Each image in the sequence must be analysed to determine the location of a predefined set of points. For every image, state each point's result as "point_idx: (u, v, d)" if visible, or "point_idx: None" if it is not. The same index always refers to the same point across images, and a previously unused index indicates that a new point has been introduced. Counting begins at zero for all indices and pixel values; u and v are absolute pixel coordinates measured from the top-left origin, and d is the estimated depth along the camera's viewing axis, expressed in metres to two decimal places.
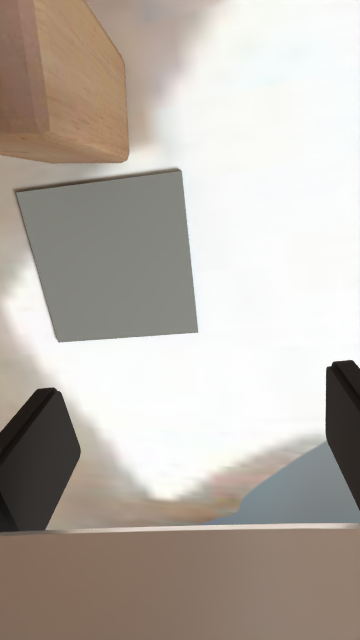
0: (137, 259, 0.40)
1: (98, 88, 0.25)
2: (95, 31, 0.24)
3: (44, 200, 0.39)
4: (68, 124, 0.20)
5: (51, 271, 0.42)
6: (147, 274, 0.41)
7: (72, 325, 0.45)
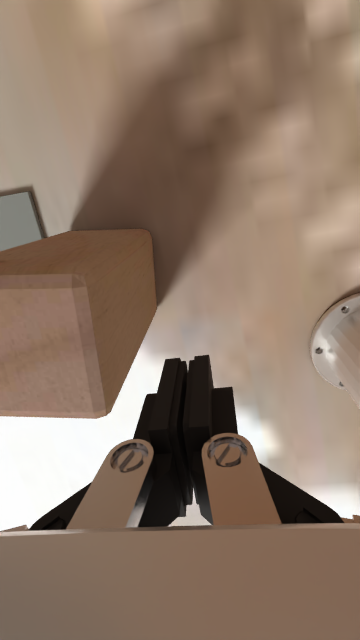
0: None
1: None
2: None
3: (26, 225, 0.35)
4: None
5: None
6: None
7: None
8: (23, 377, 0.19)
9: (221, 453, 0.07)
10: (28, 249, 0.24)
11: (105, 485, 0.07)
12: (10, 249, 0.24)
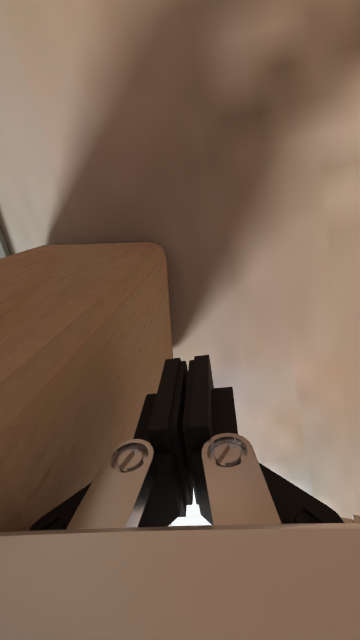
0: None
1: None
2: None
3: None
4: None
5: None
6: None
7: None
8: None
9: (221, 453, 0.07)
10: None
11: (105, 485, 0.07)
12: None
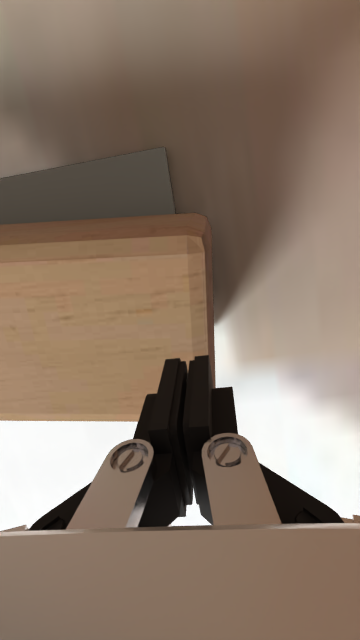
0: None
1: None
2: None
3: (154, 203, 0.22)
4: None
5: (32, 201, 0.23)
6: None
7: None
8: None
9: (221, 453, 0.07)
10: (7, 226, 0.20)
11: (105, 485, 0.07)
12: (24, 223, 0.22)
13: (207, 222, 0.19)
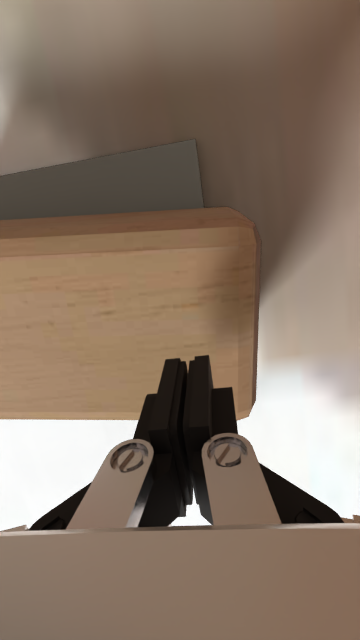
0: None
1: None
2: None
3: (183, 197, 0.21)
4: None
5: (57, 195, 0.22)
6: None
7: None
8: None
9: (221, 453, 0.07)
10: (34, 219, 0.20)
11: (105, 485, 0.07)
12: (49, 217, 0.21)
13: None
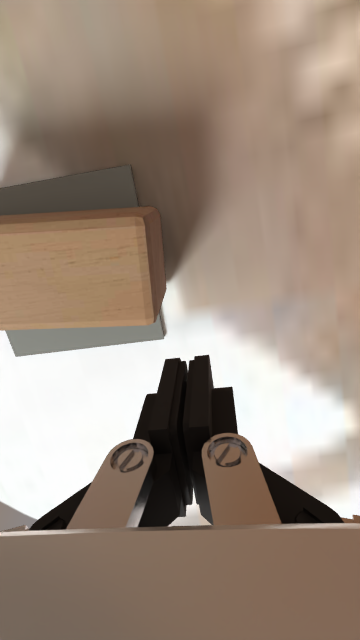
0: None
1: None
2: None
3: (124, 200, 0.34)
4: None
5: (44, 199, 0.35)
6: None
7: None
8: None
9: (221, 453, 0.07)
10: (30, 214, 0.32)
11: (105, 485, 0.07)
12: (40, 213, 0.34)
13: (155, 211, 0.32)
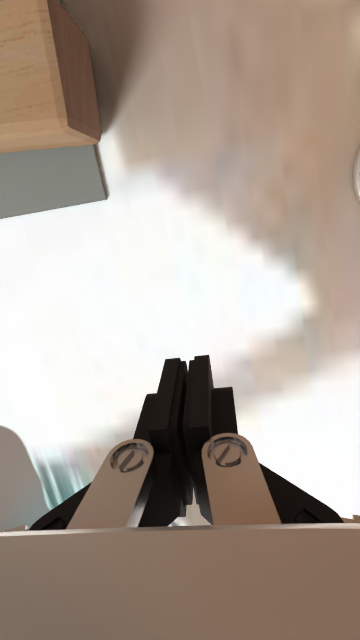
0: (15, 154, 0.38)
1: None
2: None
3: None
4: None
5: None
6: (3, 166, 0.39)
7: None
8: None
9: (221, 453, 0.07)
10: None
11: (105, 485, 0.07)
12: None
13: (78, 28, 0.31)
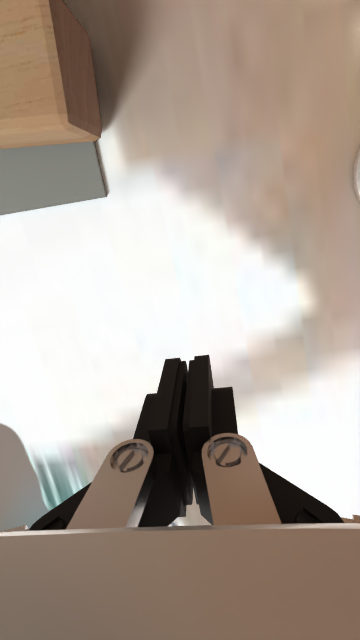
0: (15, 150, 0.38)
1: None
2: None
3: None
4: None
5: None
6: (3, 162, 0.38)
7: None
8: None
9: (221, 453, 0.07)
10: None
11: (105, 485, 0.07)
12: None
13: (79, 24, 0.30)
